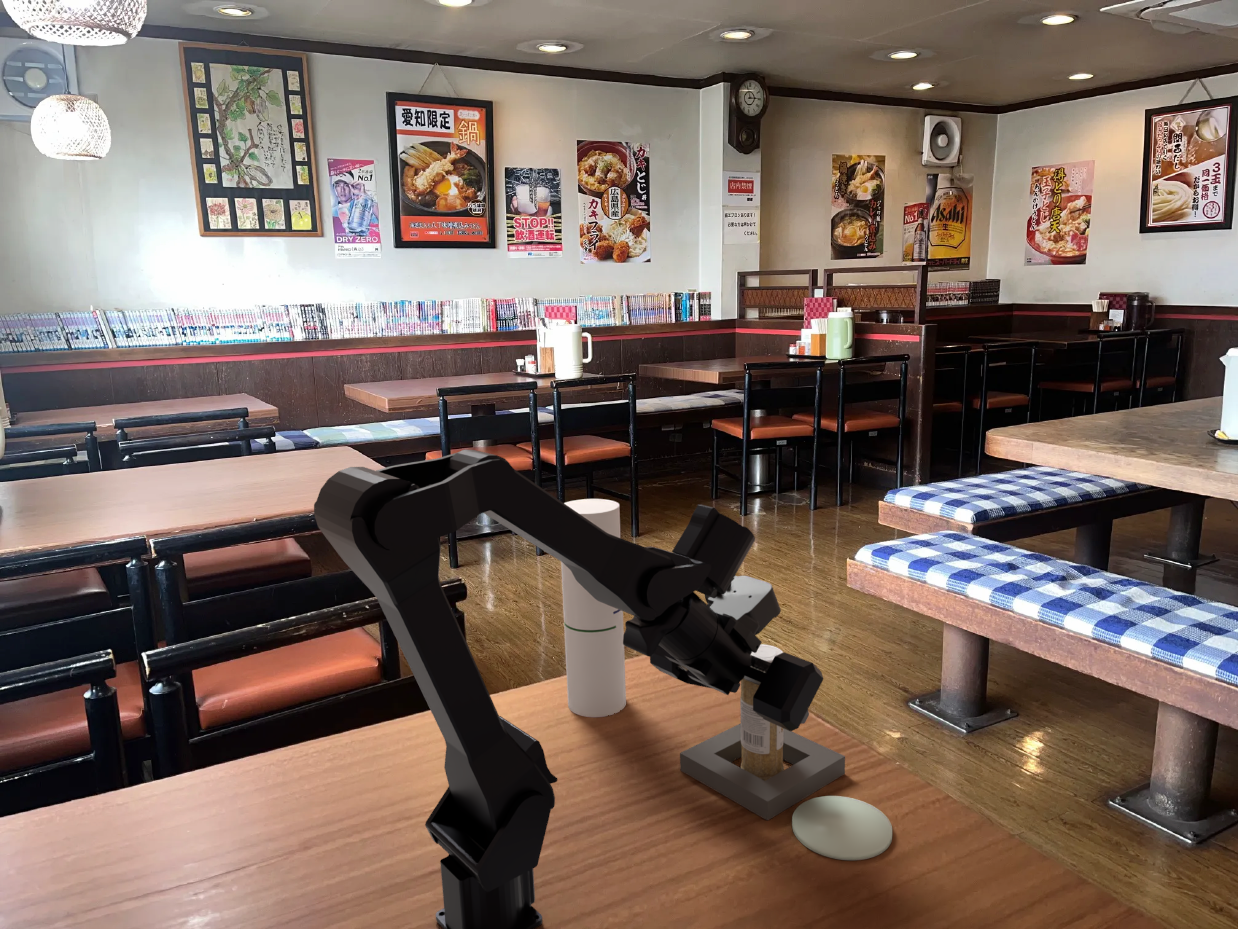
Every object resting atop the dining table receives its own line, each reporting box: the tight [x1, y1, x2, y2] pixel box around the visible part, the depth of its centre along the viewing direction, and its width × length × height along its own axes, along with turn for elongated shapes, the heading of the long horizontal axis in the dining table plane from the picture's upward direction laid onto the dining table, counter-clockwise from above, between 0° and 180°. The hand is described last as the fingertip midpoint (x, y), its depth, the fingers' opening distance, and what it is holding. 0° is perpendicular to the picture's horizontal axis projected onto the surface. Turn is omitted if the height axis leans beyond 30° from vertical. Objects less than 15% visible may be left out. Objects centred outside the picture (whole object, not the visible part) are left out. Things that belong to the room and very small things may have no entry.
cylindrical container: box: [560, 498, 627, 718], centre depth 105 cm, size 7×7×25 cm
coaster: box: [791, 795, 893, 861], centre depth 81 cm, size 9×9×1 cm
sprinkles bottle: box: [739, 643, 785, 781], centre depth 90 cm, size 5×5×13 cm
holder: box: [679, 722, 846, 821], centre depth 91 cm, size 12×12×2 cm
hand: (770, 702), depth 91 cm, fingers open, 9 cm apart
